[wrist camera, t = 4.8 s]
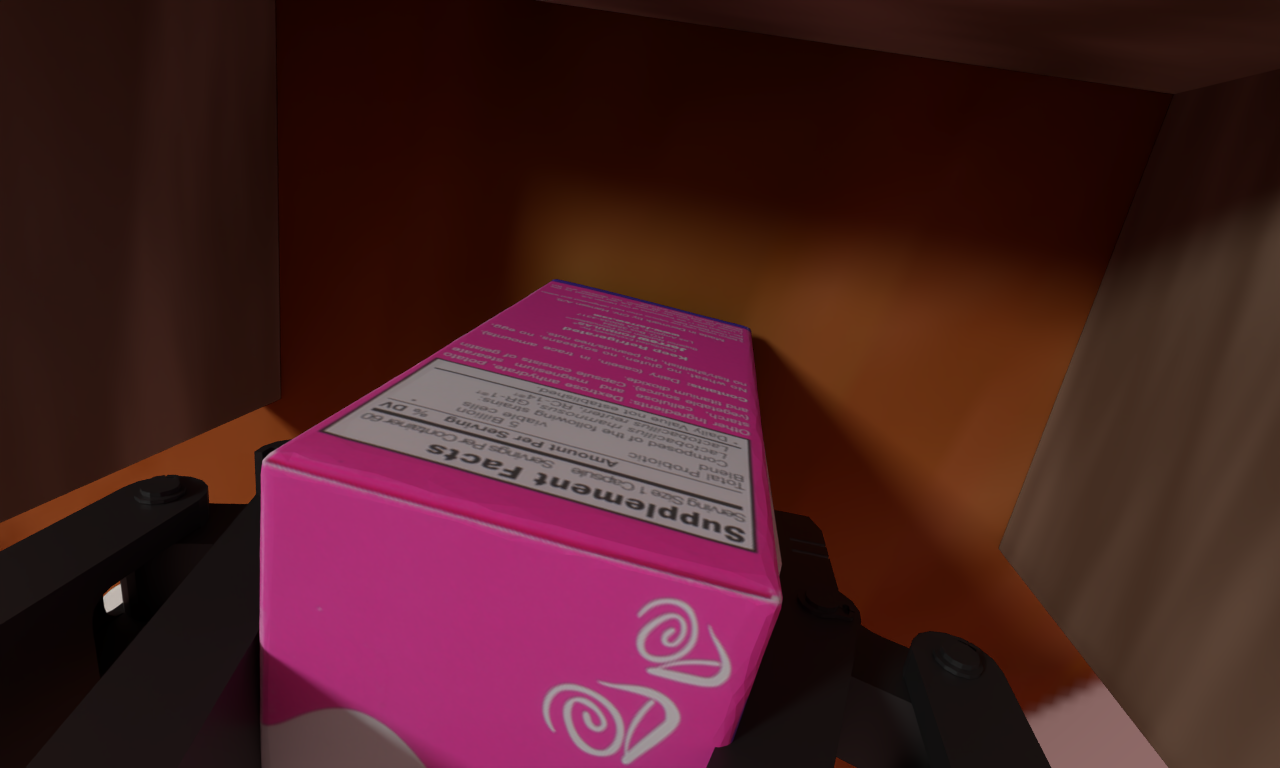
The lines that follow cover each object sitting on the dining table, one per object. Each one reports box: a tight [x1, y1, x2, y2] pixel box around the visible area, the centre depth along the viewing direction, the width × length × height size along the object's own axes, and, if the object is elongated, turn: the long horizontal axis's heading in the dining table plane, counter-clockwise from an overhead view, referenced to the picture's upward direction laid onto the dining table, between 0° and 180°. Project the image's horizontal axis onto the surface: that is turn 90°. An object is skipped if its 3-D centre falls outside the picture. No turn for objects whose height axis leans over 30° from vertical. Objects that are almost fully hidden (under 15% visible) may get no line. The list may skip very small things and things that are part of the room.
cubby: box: [0, 0, 1280, 768], centre depth 12 cm, size 24×13×9 cm, turn 81°
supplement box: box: [259, 279, 783, 768], centre depth 12 cm, size 6×6×12 cm
